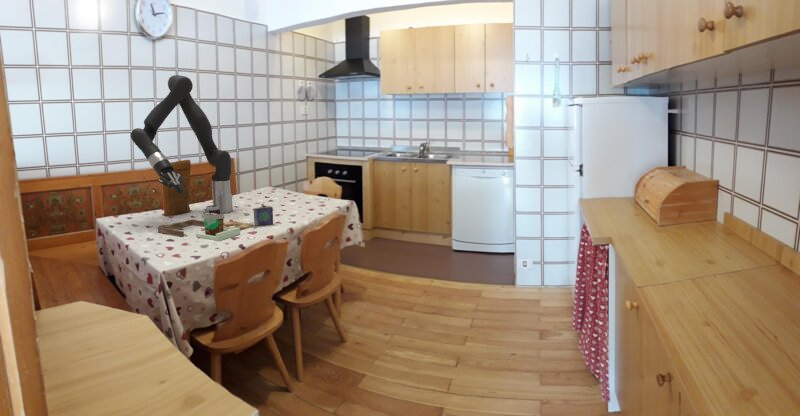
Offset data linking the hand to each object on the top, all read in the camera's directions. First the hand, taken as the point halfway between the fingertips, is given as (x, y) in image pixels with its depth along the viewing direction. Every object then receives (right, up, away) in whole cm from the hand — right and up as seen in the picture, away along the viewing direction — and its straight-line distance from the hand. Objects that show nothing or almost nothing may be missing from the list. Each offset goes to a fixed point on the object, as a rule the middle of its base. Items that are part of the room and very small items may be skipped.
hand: (181, 192), depth 237 cm
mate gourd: (+8, -14, +19) cm, 25 cm away
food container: (+16, -19, -5) cm, 25 cm away
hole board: (+21, -17, +8) cm, 28 cm away
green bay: (+19, -20, -6) cm, 28 cm away
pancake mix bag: (-16, -10, +36) cm, 41 cm away
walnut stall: (+2, -17, +2) cm, 18 cm away
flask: (+34, -16, +14) cm, 40 cm away
